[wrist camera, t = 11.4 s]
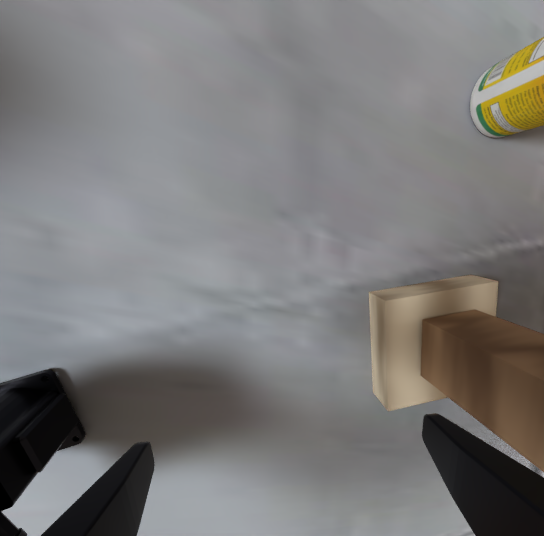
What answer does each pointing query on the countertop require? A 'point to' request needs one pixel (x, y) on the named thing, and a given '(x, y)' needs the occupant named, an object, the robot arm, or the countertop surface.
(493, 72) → the supplement bottle
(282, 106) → the countertop surface
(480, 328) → the walnut block
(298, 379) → the countertop surface
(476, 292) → the birch block
